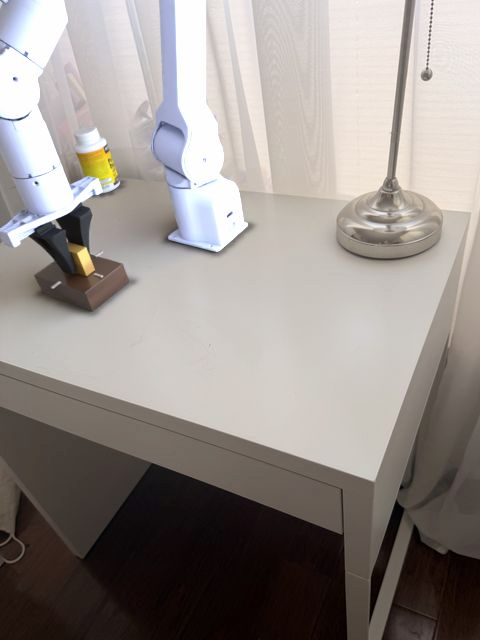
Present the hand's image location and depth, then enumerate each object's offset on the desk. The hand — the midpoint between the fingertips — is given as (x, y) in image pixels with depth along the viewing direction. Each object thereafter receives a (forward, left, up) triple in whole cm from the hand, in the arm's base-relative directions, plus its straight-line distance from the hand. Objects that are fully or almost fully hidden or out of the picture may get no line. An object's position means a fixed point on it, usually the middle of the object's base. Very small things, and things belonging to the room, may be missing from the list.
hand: (76, 266), depth 72 cm
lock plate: (0, 0, -3) cm, 3 cm away
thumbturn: (0, 0, 0) cm, 0 cm away
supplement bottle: (+20, -24, -4) cm, 31 cm away
